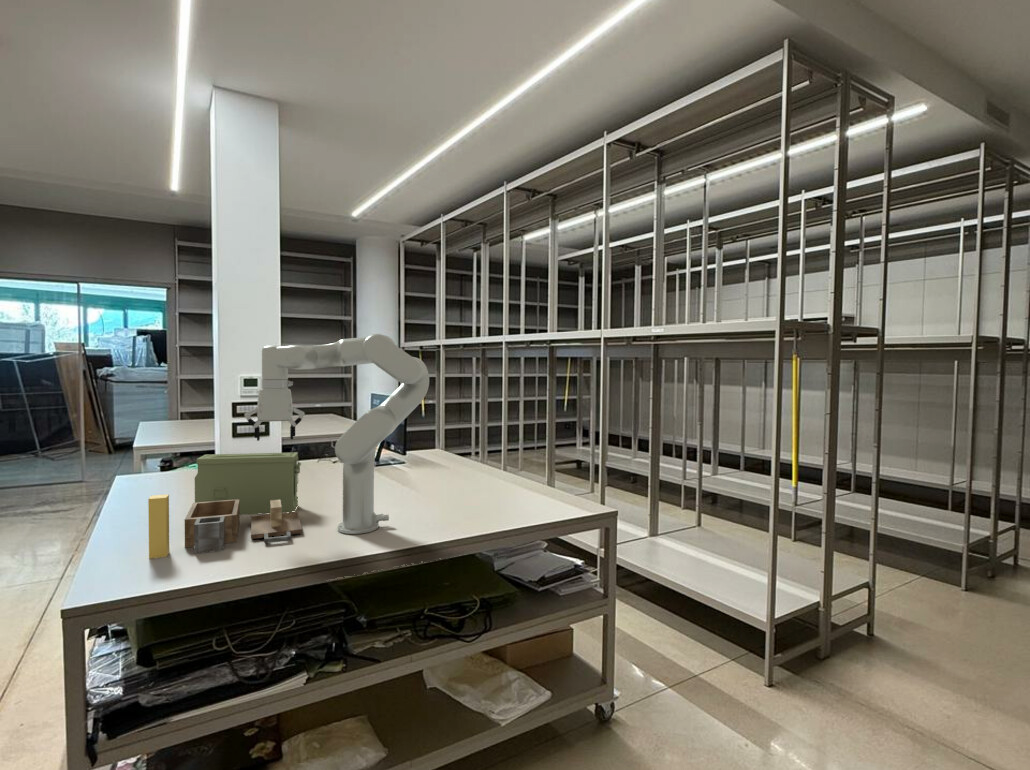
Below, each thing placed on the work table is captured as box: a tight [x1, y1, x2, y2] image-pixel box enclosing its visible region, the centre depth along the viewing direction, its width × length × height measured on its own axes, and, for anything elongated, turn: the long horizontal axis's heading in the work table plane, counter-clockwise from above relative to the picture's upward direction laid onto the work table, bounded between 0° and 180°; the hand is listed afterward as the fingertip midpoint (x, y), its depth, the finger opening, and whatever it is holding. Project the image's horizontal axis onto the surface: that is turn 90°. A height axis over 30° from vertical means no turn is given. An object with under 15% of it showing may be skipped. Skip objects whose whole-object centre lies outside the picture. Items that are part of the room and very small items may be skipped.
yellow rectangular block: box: [147, 493, 170, 560], centre depth 146 cm, size 4×4×16 cm
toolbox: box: [184, 499, 241, 554], centre depth 161 cm, size 13×26×8 cm, turn 25°
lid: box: [250, 500, 303, 544], centre depth 168 cm, size 14×27×8 cm, turn 26°
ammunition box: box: [194, 451, 302, 515], centre depth 190 cm, size 10×33×20 cm, turn 104°
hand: (275, 439), depth 170 cm, fingers open, 9 cm apart
